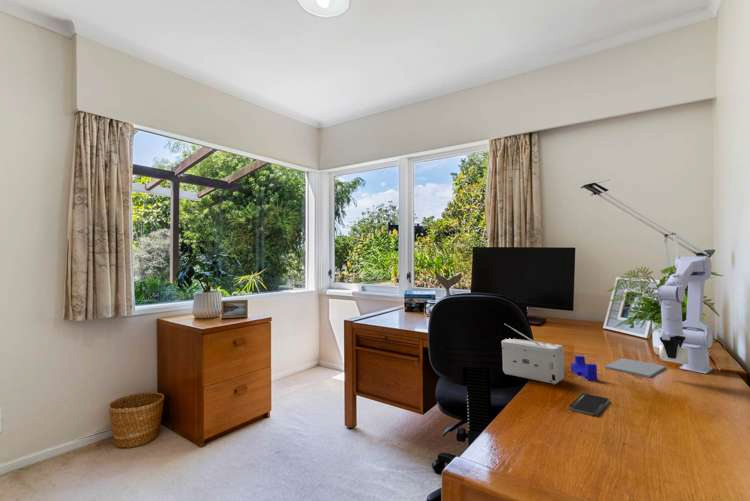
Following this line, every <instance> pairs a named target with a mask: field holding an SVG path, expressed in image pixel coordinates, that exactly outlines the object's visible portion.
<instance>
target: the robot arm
mask: <svg viewBox="0 0 750 501" xmlns="http://www.w3.org/2000/svg"><path fill="white" fill-rule="evenodd" d="M712 266H713V264H712V260H711V258H710V257H709V256H708V255H704V256H702V255H700V256H699V255H698V256H680V255H679V256H677V257H676V258H675V260H674V267H675V269H676V272H675V273H672V274H671V275H670V276H669V277H668V279H667V280H666V282H665V283H664V284H663V285H661V286H659V287H658V288H657V291H656V292H657V293H656V294H657V299H658V304H659V306H660V314H661V329H658V330H657V332H658V333H661V336H659V340H660V341H661V343H662V345H664V347H665V350H666V354H667V356H668V358H673V359H676V355H677V348H678V345H679V347H681V348H686V349H688V364H682V365H681V366H679V369H680V370H685V371H689V372H695V373H699V374H700V373H701V374H708V373H709V372H711V371H712V370H713V369H714V368H713V367H712V366H710V356H709V355H710V353H709V350H708V349H710V348H711V347H712V346H713V340H714V337H713V331H712V330H713V329H712V328H711V327H710V326H709V325H708V324H706V323H704V321H703V316H704V315H703V314H704V299H705V298H704V296H705V295H704V294H705V283H706V280H709V279H711V277H712ZM686 288H687V302H686V303H687V304H686V317H685V318H686V320H684V321H683V309H682V308H683V307H682V303H683V301H684V299H685V294H686V291H685V290H686Z"/></svg>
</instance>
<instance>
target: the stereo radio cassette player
mask: <svg viewBox="0 0 750 501" xmlns="http://www.w3.org/2000/svg"><path fill="white" fill-rule="evenodd" d="M504 325H505V326H507V327H508V328H510V329H511V330H513V331H514V332H516V333H518V334H519V335H521V336H523V337H524V338H526V339H520V338H519V339H517V338H513V339H511V338H510V337H508V338H509V339H507V338H505V339H503V340H501V342H500V343H501V348H502V349H501V351H502V352H501V354H502V356H501V357H502V371H503V373H504V374H505V375H507V376H508V375H509V376H515V377H519V378H525V379H528V380H533V381H534V380H535V381H538V382H539V381H540V382H544V383H548V384H552V385H556V384H558V383H559V382H561V381H562V380H563V379H564V378H565V358H564V356H565V355H564V347H563V346H564V345H562V344H555V343H548V342H542V341H540V342H539V341H535V340H533V339H532V338H529V337H528V336H526V335H525V334H523V333H522V332H519V331H518V330H517V329H515V328H513V327H511V326H510V325H508V324H506V323H504Z"/></svg>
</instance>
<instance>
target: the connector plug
mask: <svg viewBox="0 0 750 501" xmlns="http://www.w3.org/2000/svg"><path fill="white" fill-rule="evenodd" d="M658 351H659V352H658V353H659V354H658V355H659V360H660V361H664V362H670V363H676V364H682V365H683V364H688V349H686V348H682V346H681V347H679V345H678V348H677V355H676V359H673V358H668V356H667V354H666V350H665V347H664V345H663V344H659V345H658Z"/></svg>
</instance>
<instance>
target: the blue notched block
mask: <svg viewBox="0 0 750 501" xmlns="http://www.w3.org/2000/svg"><path fill="white" fill-rule="evenodd" d="M570 369H571V372H573V373H574V374H575V375H576V376H582V377H583V378H584V379H585V380H586V381H587V382H598V372H597V371H598V366H597V364H595V363H586V360H585V356H584V355H574V362H571V363H570Z"/></svg>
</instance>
